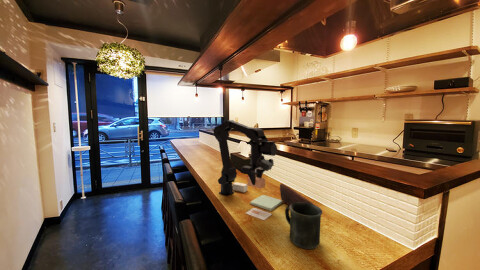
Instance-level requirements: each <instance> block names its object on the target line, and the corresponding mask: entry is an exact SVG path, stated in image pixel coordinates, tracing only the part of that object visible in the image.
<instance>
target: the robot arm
mask: <svg viewBox="0 0 480 270" xmlns="http://www.w3.org/2000/svg"><path fill="white" fill-rule="evenodd" d="M232 130H235V131H237V132H238V133H241V134H243V135H244V136H246V137H247V139H249V141H248V142H247V145H250V155H249V156H248V157H249V158H250V163H248V165H244V166H241V168H240V173H241V174H245V175H247V176H248V177H249V178H250V180H251V182H252V184H253V185H255V180H256V177H259V178H263V175H264V172H269V171H271V170H272V168H273V166H275V165H274V159H273V158H269V159H266V158H265V156H266V155H267V156H272V157H275V156H276V155H277V154H278V153H277V152H278V146H277V144H276V142H275V141H274V140H273V141H269V140H268V138H267V136H266V134H265V131H264V130H263V129H262V128H259V127H252V126H247V125H245V124H243V123H239V122H238V121H235V120H233V119H228V120H225V122H223V123H220V124H219V125H216V126H215V127H214V128H213V130H212V131H213V135H214V137H215V139H216V141H217V142H218V145H219V151H220V157H221V162H222V168H221V171H220V173H221V174H220V175H221V176H220V177H219V178H218V179H217V182H218V184H219V185H220V191H218V194H220V195H222V196H226V197H228V196H230V195H232V194H234V193H235V191H234V190H233V183H235V182H236V179H237V175H238V172H237V167H236V166H233V165H232V159H231V154H230V149H229V145H228V138H229V132H231V131H232Z"/></svg>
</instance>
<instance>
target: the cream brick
mask: <svg viewBox="0 0 480 270" xmlns="http://www.w3.org/2000/svg"><path fill="white" fill-rule="evenodd" d="M232 186H233V191H237V192H241V193H246V192H247V191H248V183H247V184H246V183H242V182H237V181H234V182H233V183H232Z"/></svg>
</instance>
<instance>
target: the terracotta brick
mask: <svg viewBox="0 0 480 270" xmlns="http://www.w3.org/2000/svg"><path fill="white" fill-rule="evenodd" d="M248 186H250V187H253V188H256V189H263V188H265V187H266V178H263V177H262V178H259V177H256V180H255V185H253V184H252V182H251V180H250V178H249V176H248V177H247V187H248Z"/></svg>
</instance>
